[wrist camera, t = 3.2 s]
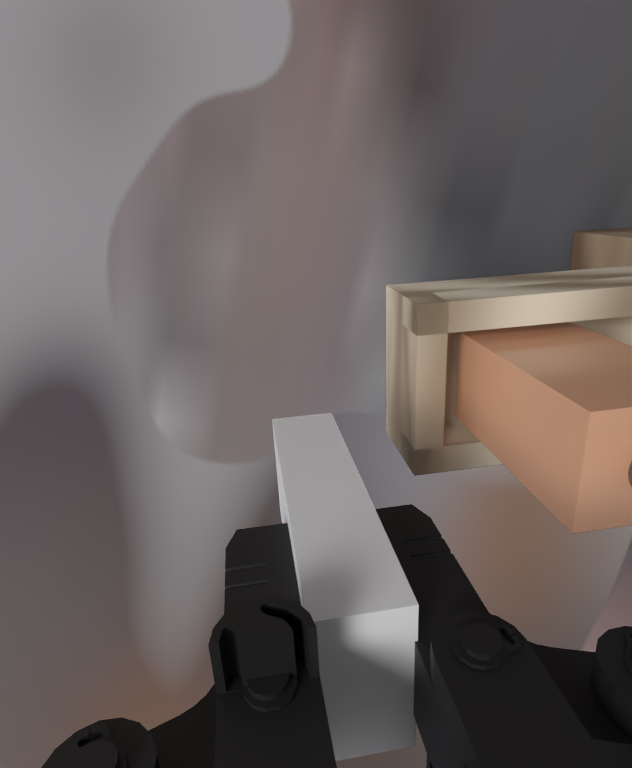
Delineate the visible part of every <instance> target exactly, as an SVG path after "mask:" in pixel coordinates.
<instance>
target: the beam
mask: <svg viewBox="0 0 632 768" xmlns="http://www.w3.org/2000/svg"><path fill="white" fill-rule="evenodd" d="M563 322H570V323H572V324H575V325H578V326H580V327H583V328H585V329H588V330H591V331H593V332H596V333H598V334H601V335H604V336H606V337H609V338H611V339H614V340H617V341H619V342H622V343H624V344H627V345H630V346H632V228H620V229H606V230H592V231H577V232H575V234H574V242H573V250H572V258H571V266H570V271H557V272H545V273H532V274H520V275H507V276H495V277H482V278H470V279H457V280H445V281H432V282H420V283H407V284H395V285H386V390H387V433H388V435H389V436H390V438H391V440H392V441H393V443H394V444H395V446H396V447H397V449H398V451H399V452H400V454H401V455H402V457H403V458H404V460H405V462H406V463H407V465H408V466H409V468H410V469H411V471H412V473H413V474H414V475H423V474H431V473H439V472H446V471H455V470H463V469H470V468H478V467H487V466H494V465H502V463H501V462H500V461H499V460H498V459H497V458H496V457H495V456H494V455H493V454H492V453H491V452H490V451H489V450H488V449H487V448H486V447H485V446H484V445H483V444H482V443H481V442H480V441H479V440H478V439H477V438H476V437H475V436H474V435H473V434H472V433H471V432H470V431H469V430H468V429H467V428H466V427H465V426H464V425H463V424H462V422H461V421H460V420H459V419H458V418H457V417H456V416H455V412H456V392H457V371H458V351H459V332H466V331H477V330H488V329H498V328H509V327H520V326H531V325H541V324H552V323H563Z"/></svg>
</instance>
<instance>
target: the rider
mask: <svg viewBox="0 0 632 768" xmlns="http://www.w3.org/2000/svg"><path fill="white" fill-rule="evenodd" d="M455 416H456V417H457V418H458V419H459V420H460V421H461V422H462V424H463V425H464V426H465V427H466V428H467V429H468V430H469V431H470V432H471V433H472V434H473V435H474V436H475V437H476V438H477V439H478V440H479V441H480V442H481V443H482V444H483V445H484V446H485V447H486V448H487V449H488V450H489V451H490V452H491V453H492V454H493V455H494V456H495V457H496V458H497V459H498V460H499V461H500V462H501V463H502V464H503V465H504V466H505V467H506V468H507V469H508V470H509V471H510V472H511V473H512V474H513V475H514V476H515V477H516V478H517V479H518V480H519V481H520V482H521V483H522V484H523V485H524V486H525V487H526V488H527V489H528V490H529V491H530V492H531V493H532V494H533V495H534V496H535V497H536V498H537V499H538V500H539V501H540V502H541V503H542V504H543V505H544V506H545V507H546V508H547V509H548V510H549V511H550V512H551V513H552V514H553V515H554V516H555V517H556V518H557V519H558V520H559V521H560V522H561V523H562V525H564V526H565V528H566V529H567V530H568V531H570V533H571V534H575V533H582V532H588V531H595V530H603V529H609V528H616V527H623V526H630V525H632V346H630V345H627V344H624V343H622V342H619V341H617V340H614V339H611V338H609V337H606V336H604V335H601V334H598V333H596V332H593V331H591V330H588V329H585V328H583V327H580V326H578V325H575V324H572V323H570V322H563V323H552V324H541V325H531V326H520V327H509V328H498V329H488V330H477V331H466V332H459V351H458V371H457V392H456V412H455Z"/></svg>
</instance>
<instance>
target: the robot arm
mask: <svg viewBox="0 0 632 768" xmlns="http://www.w3.org/2000/svg"><path fill="white" fill-rule="evenodd" d="M272 423H273V434H274V445H275V456H276V467H277V477H278V488H279V500H280V511H281V517H282V524H276V525H269V526H262V527H254V528H246V529H239V530H236V532H235V534H234V536H233V537H232V539H231V540H230V542H229V544H228V546H227V547H226V563H225V569H226V572H225V610H224V615H223V617H222V618H221V619H220V620H219V622H218V623H217V624H216V625H215V627H214V628H213V631H212V635H211V638H210V642H209V651H210V657H211V663H212V669H213V675H214V681H215V684H214V685H213V687H212V688H211V689H210V691H209V692H208V693H207V695H206V696H205V697H204V698H202V699H201V700H200V701H199V702H198V703H197V704H196V705H195V706H194V707H192V708H190V709H189V710H187V711H186V712H184V713H182V714H181V715H179V716H177V717H175V718H173V719H171V720H169V721H167V722H165V723H163V724H161V725H159V726H157V727H155V728H153V729H151V730H149V731H147V730H146V729H145V728H144V727H143V726H142V725H141V724H140V723H139V722H136V721H132V720H128V719H125V718H115V719H108V720H101V721H98V722H96V723H94V724H91V725H89V726H87V727H85V728H83V729H81V730H79V731H77V732H75V733H74V734H73V735H72V736H70V737H69V738H68V739H67V740H66V741H64V742H63V743H62V744H61V745H60V746H59V747H57V748H56V749H55V750H54V752H53V753H52V754H51V756H50V757H49V758H48V760H47V761H46V762H45V764H44V765H43V766H42V768H337V767H336V761H339V760H344V759H349V758H354V757H359V756H364V755H369V754H375V753H380V752H385V751H390V750H395V749H400V748H405V747H410V746H415V745H416V723H417V726H418V729H419V732H420V734H421V737H422V740H423V743H424V746H425V749H426V752H427V767H426V768H632V627H629V626H623V627H619V628H614V629H609V630H608V631H606V632H605V633H604V634H603V635H602V636H601V637H600V638H598V642H597V647H596V652H587V651H578V650H569V649H561V648H552V647H547V646H542V645H537V644H534V643H531V642H529V641H527V640H526V638H525V637H524V636H523V635H522V634H521V633H520V632H519V631H518V630H517V629H516V628H515V627H514V626H513V625H511V624H510V623H508V622H506V621H505V620H503V619H501V618H500V617H498V616H495V615H491V614H490V613H489V612H488V611H487V609H486V607H485V606H484V604H483V602H482V601H481V599H480V598H479V596H478V594H477V593H476V591H475V589H474V588H473V586H472V585H471V583H470V581H469V580H468V578H467V576H466V575H465V573H464V572H463V570H462V568H461V567H460V565H459V563H458V562H457V560H456V559H455V557H454V555H453V554H451V552H450V549H449V547H448V546H447V544H446V542H445V541H444V539H442V538H441V534H440V533H439V531H438V529H437V528H436V526H435V524H434V523H433V521H432V519H431V518H430V517H428V516H427V515H426V514H424V513H423V512H422V511H420V510H419V509H417V508H416V507H414V506H413V505H412V504H411V505H403V506H396V507H388V508H381V509H375V508H374V505H373V503H372V501H371V499H370V497H369V494H368V492H367V490H366V488H365V486H364V484H363V481H362V479H361V477H360V475H359V472H358V470H357V468H356V466H355V464H354V461H353V459H352V457H351V455H350V453H349V450H348V449H347V446H346V444H345V442H344V439H343V437H342V435H341V433H340V431H339V428H338V427H337V424H336V422H335V420H334V418H333V415H332V413H324V414H315V415H306V416H297V417H288V418H279V419H272Z"/></svg>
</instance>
